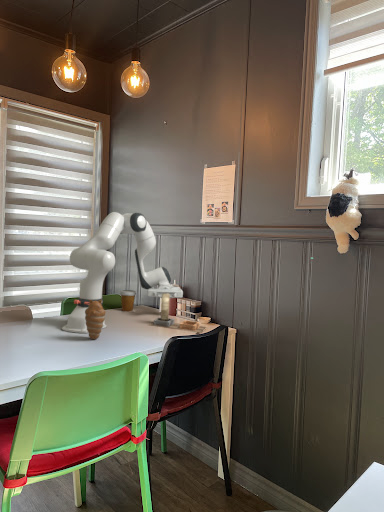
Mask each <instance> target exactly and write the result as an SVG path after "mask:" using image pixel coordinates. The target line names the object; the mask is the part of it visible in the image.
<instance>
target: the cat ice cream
mask: <svg viewBox="0 0 384 512" xmlns="http://www.w3.org/2000/svg"><path fill="white" fill-rule="evenodd" d="M101 302H102V300H99V301H92V300H89V303H90V304H89V307H88V308H87V309H86V310H85V314H86V316H85V320H86V326H87V331H88V337H89V338H90V339H91V340H97V339H99V338H100V335H101V332H102V329H103V328H102V327H103V322H104V323H105V319H106V318H105V315H106V314H107V313H106V310H105V308H104V307H103V304H102V305H101ZM101 328H102V329H101Z"/></svg>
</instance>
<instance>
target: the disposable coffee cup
mask: <svg viewBox="0 0 384 512" xmlns="http://www.w3.org/2000/svg"><path fill="white" fill-rule="evenodd" d="M119 294H120V296H121V297H120V298H121V299H120V300H121V310H122V311H123V312H126V313H127V312H133V309H134V304H135V298H136V295H137V293H136V290H132V289H122V290H120V293H119Z"/></svg>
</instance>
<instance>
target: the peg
mask: <svg viewBox="0 0 384 512" xmlns="http://www.w3.org/2000/svg"><path fill="white" fill-rule="evenodd" d="M169 297H170V294H162V298H161V305H160V306H161V309H160V311H161V312H160V317H161V321H168V318H169V311H170V298H169Z"/></svg>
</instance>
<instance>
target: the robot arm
mask: <svg viewBox="0 0 384 512" xmlns="http://www.w3.org/2000/svg"><path fill="white" fill-rule="evenodd" d="M120 234H133V235H134V238H135V241H136V248H135V250H134V256H135V262H136V269H137V273H138V281H139V285H140V287H141V288H142V289H143V290H147V293H146V294H147V295H146V296H147V297H151V298H152V297H153V298H159V299H162V294H170V297H169V299H175V298H176V299H178V298H180V299H181V298H182V299H183V297H184V296H183V295H184V291H183V290H182V288H180V286H177V285H172V284H171V282H172V278H171V275H170V272H169V271H168V269H167V268H165V267H164V266H161V267H158V268H155V269H152V270H150V271H147V272H146V270H145V266H144V265H145V264H144V259H145V258H146V256H148V254H150V253H151V252H152V251H153V250H154V249H155V247H156V245H157V239H156V236H155V233H154V231H153V229H152V227H151V225H150V223H149V222H148V220H147V219H146V217H145V216H144V214H142V213H140V212H134V213H133V212H130V213H123V214H121V213H119V212H118V211H113V212H110V213H109V214H108V215H107V216H106V217H105V218H104V219H103V220H102V222H101V223H100V225H99V226H98V228H97V230H96V231H95V233H94V234H93V236H91V237H90V238H89V240H87V241H86V242H85V243H84V244H82V245H80V246H79V247H77V248H74V249H73V250H72V251H71V252H70V254H69V263H70V265H71V266H72V267H75V268H77V269H79V270H83V271H84V270H85V271H88V272H87V275H86V277H84V278H83V279H82V280H80V283H79V295H78V299H74V300H73V304H74V305H76V307H75V308H73V310H72V312H71V313H70V314H69V315H68V317H67V324H66V325H63V326H62V327H61V330H63V331H64V332H69V333H78V334H87V333H88V334H89V332H88V331H87V326H86V320H85V316H86V314H85V310H86V309H87V308H88V307H89V304H90V303H89V300H92V301H99V300H102V302H101V305H102V306H103V304H104V303H103V301H104V300H103V299H104V298H103V286H104V281H105V278H106V276H107V275H108V273H110V271H112V270H113V269H114V267H115V266H116V257H115V255H114V253H113V252H111V251H108V250H110V249H111V248H113V246H114V245H115V243H116V242H117V239H118V238H119V236H120ZM153 287H157V288H153ZM105 328H107V324H105V321H104V322H103V327H102V328H101V330H102V329H105Z"/></svg>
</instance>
